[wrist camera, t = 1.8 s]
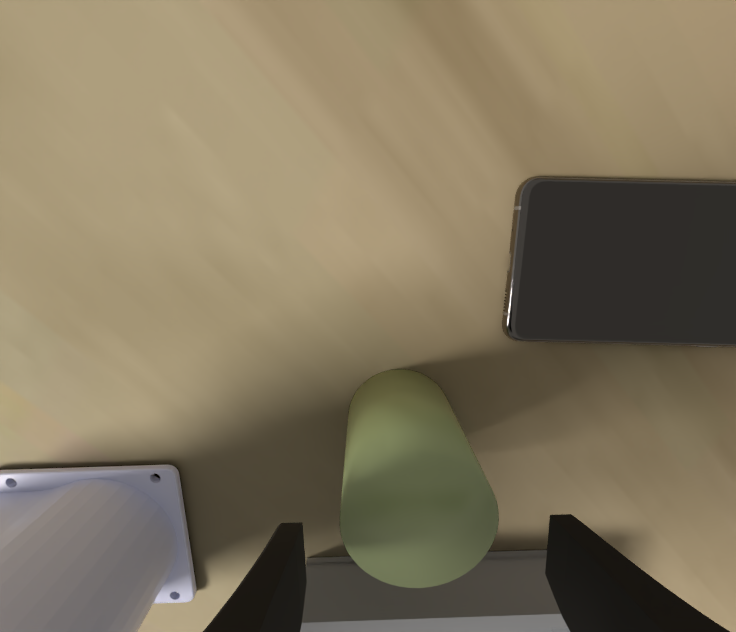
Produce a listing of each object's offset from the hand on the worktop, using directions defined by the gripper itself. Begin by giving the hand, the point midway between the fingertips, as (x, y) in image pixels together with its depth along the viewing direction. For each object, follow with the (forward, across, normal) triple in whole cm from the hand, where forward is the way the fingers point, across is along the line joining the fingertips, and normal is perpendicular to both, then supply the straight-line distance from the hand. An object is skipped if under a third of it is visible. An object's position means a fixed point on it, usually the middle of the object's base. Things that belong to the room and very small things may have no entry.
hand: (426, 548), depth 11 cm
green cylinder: (+8, 0, 0) cm, 8 cm away
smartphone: (+9, -13, -7) cm, 17 cm away
